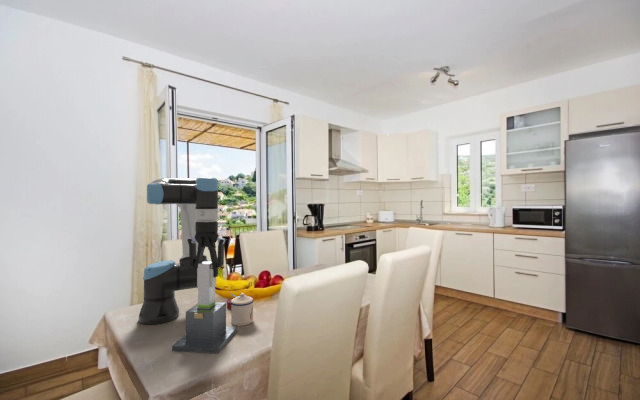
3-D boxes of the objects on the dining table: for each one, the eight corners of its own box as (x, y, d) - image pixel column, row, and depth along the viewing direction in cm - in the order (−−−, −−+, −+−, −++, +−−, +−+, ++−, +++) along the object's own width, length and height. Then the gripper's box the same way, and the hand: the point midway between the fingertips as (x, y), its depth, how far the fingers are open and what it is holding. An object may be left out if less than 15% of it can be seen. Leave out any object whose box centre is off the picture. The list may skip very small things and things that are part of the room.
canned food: (236, 311, 143) (242, 291, 147) (250, 314, 137) (256, 292, 141) (218, 307, 135) (225, 285, 139) (232, 309, 129) (239, 286, 133)
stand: (172, 350, 97) (172, 314, 97) (197, 329, 113) (197, 298, 113) (217, 353, 95) (217, 317, 95) (236, 331, 111) (236, 300, 111)
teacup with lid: (255, 323, 118) (255, 295, 118) (232, 328, 114) (232, 298, 114) (249, 313, 129) (249, 287, 129) (228, 316, 125) (228, 289, 125)
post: (197, 320, 102) (197, 263, 102) (203, 315, 106) (203, 261, 106) (209, 321, 102) (209, 264, 101) (215, 316, 106) (215, 261, 106)
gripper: (177, 221, 101) (177, 288, 101) (225, 221, 99) (225, 290, 99) (189, 219, 109) (189, 282, 109) (234, 220, 107) (234, 283, 107)
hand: (206, 285), depth 104 cm, fingers closed on post, 4 cm apart
